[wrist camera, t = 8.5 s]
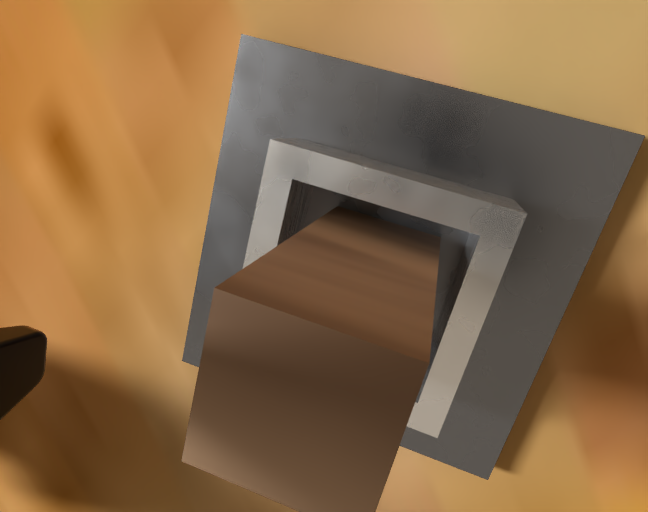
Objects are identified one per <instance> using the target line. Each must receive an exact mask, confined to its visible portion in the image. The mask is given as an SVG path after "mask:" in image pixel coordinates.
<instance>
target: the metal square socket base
mask: <svg viewBox="0 0 648 512" xmlns="http://www.w3.org/2000/svg"><path fill="white" fill-rule="evenodd" d="M644 137H645V136H644V135H640V134H636V133H632V132H628V131H624V130H620V129H616V128H612V127H608V126H604V125H600V124H596V123H592V122H588V121H584V120H580V119H577V118H573V117H569V116H565V115H561V114H557V113H553V112H549V111H545V110H541V109H537V108H533V107H529V106H525V105H521V104H517V103H513V102H509V101H505V100H501V99H497V98H493V97H489V96H485V95H481V94H477V93H473V92H469V91H465V90H461V89H458V88H454V87H450V86H446V85H442V84H438V83H434V82H430V81H426V80H422V79H418V78H414V77H410V76H406V75H402V74H398V73H394V72H390V71H386V70H382V69H378V68H374V67H370V66H366V65H362V64H358V63H354V62H350V61H346V60H342V59H339V58H335V57H331V56H327V55H323V54H319V53H315V52H311V51H307V50H303V49H299V48H295V47H291V46H287V45H283V44H279V43H275V42H271V41H267V40H263V39H259V38H255V37H251V36H247V35H243V34H241V39H240V44H239V50H238V55H237V61H236V66H235V72H234V78H233V83H232V89H231V94H230V100H229V105H228V111H227V116H226V122H225V127H224V133H223V138H222V144H221V149H220V155H219V160H218V166H217V171H216V177H215V182H214V188H213V193H212V199H211V204H210V210H209V215H208V221H207V226H206V232H205V238H204V243H203V249H202V254H201V260H200V265H199V271H198V276H197V282H196V287H195V293H194V298H193V304H192V309H191V315H190V320H189V326H188V331H187V337H186V342H185V348H184V353H183V359H182V361H184V362H186V363H189V364H192V365H194V366H197V367H199V366H200V360H201V355H202V350H203V344H204V339H205V334H206V329H207V323H208V318H209V313H210V308H211V302H212V297H213V292H214V288H215V287H216V286H218V285H219V284H221V283H222V282H224V281H225V280H227V279H228V278H230V277H231V276H233V275H234V274H236V273H237V272H239V271H240V270H242V269H243V268H245V267H246V266H248V265H249V264H251V263H252V262H254V261H255V260H257V259H258V258H260V257H261V256H263V255H264V254H266V253H267V252H269V251H270V250H272V249H274V248H275V247H277V246H278V245H280V244H281V243H283V242H284V241H286V240H287V239H289V238H290V237H292V236H293V235H295V234H296V233H298V232H299V231H301V230H302V229H304V228H305V227H307V226H308V225H310V224H311V223H313V222H314V221H316V220H317V219H319V218H320V217H322V216H323V215H325V214H326V213H328V212H329V211H331V210H332V209H334V208H335V207H337V206H339V207H342V208H346V209H349V210H352V211H355V212H359V213H362V214H365V215H369V216H372V217H375V218H379V219H382V220H385V221H388V222H392V223H395V224H398V225H402V226H405V227H408V228H411V229H415V230H418V231H421V232H425V233H428V234H431V235H435V236H438V237H441V242H440V253H439V264H438V275H437V286H436V297H435V308H434V319H433V330H432V341H431V352H430V363H429V366H428V369H427V371H426V374H425V377H424V380H423V382H422V385H421V388H420V391H419V393H418V396H417V399H416V401H415V404H414V407H413V410H412V412H411V415H410V418H409V421H408V423H407V426H406V429H405V432H404V434H403V437H402V440H401V443H400V445H399V446H402V447H404V448H407V449H410V450H412V451H415V452H417V453H420V454H422V455H425V456H428V457H430V458H433V459H435V460H438V461H440V462H443V463H446V464H448V465H451V466H453V467H456V468H458V469H461V470H463V471H466V472H469V473H471V474H474V475H476V476H479V477H481V478H484V479H487V480H488V479H489V477H490V474H491V472H492V470H493V468H494V466H495V463H496V461H497V459H498V457H499V455H500V452H501V450H502V448H503V446H504V444H505V442H506V439H507V437H508V435H509V433H510V431H511V428H512V426H513V424H514V422H515V420H516V417H517V415H518V413H519V411H520V409H521V407H522V404H523V402H524V400H525V398H526V396H527V393H528V391H529V389H530V387H531V385H532V382H533V380H534V378H535V376H536V374H537V371H538V369H539V367H540V365H541V363H542V361H543V358H544V356H545V354H546V352H547V350H548V347H549V345H550V343H551V341H552V339H553V336H554V334H555V332H556V330H557V328H558V326H559V323H560V321H561V319H562V317H563V315H564V312H565V310H566V308H567V306H568V304H569V301H570V299H571V297H572V295H573V293H574V290H575V288H576V286H577V284H578V282H579V280H580V277H581V275H582V273H583V271H584V269H585V266H586V264H587V262H588V260H589V258H590V255H591V253H592V251H593V249H594V247H595V245H596V242H597V240H598V238H599V236H600V234H601V231H602V229H603V227H604V225H605V223H606V220H607V218H608V216H609V214H610V212H611V209H612V207H613V205H614V203H615V201H616V199H617V196H618V194H619V192H620V190H621V188H622V185H623V183H624V181H625V179H626V177H627V174H628V172H629V170H630V168H631V166H632V164H633V161H634V159H635V157H636V155H637V153H638V150H639V148H640V146H641V144H642V142H643V139H644Z"/></svg>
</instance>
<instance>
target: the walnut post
mask: <svg viewBox="0 0 648 512" xmlns="http://www.w3.org/2000/svg"><path fill="white" fill-rule="evenodd" d="M440 242H441V237H438V236H435V235H431V234H428V233H425V232H421V231H418V230H415V229H411V228H408V227H405V226H402V225H398V224H395V223H392V222H388V221H385V220H382V219H379V218H375V217H372V216H369V215H365V214H362V213H359V212H355V211H352V210H349V209H346V208H342V207H339V206H337V207H335V208H334V209H332V210H331V211H329V212H328V213H326V214H325V215H323V216H322V217H320V218H319V219H317V220H316V221H314V222H313V223H311V224H310V225H308V226H307V227H305V228H304V229H302V230H301V231H299V232H298V233H296V234H295V235H293V236H292V237H290V238H289V239H287V240H286V241H284V242H283V243H281V244H280V245H278V246H277V247H275V248H274V249H272V250H270V251H269V252H267V253H266V254H264V255H263V256H261V257H260V258H258V259H257V260H255V261H254V262H252V263H251V264H249V265H248V266H246V267H245V268H243V269H242V270H240V271H239V272H237V273H236V274H234V275H233V276H231V277H230V278H228V279H227V280H225V281H224V282H222V283H221V284H219V285H218V286H216V287H215V288H214V292H213V297H212V302H211V308H210V313H209V318H208V323H207V329H206V334H205V339H204V344H203V350H202V355H201V360H200V366H199V371H198V376H197V381H196V387H195V392H194V397H193V402H192V408H191V413H190V418H189V423H188V429H187V434H186V439H185V444H184V450H183V455H182V460H181V461H182V462H184V463H186V464H189V465H191V466H193V467H196V468H198V469H200V470H203V471H205V472H207V473H210V474H212V475H214V476H217V477H219V478H221V479H224V480H226V481H229V482H231V483H233V484H236V485H238V486H240V487H243V488H245V489H247V490H250V491H252V492H254V493H257V494H259V495H261V496H264V497H266V498H268V499H271V500H273V501H275V502H278V503H280V504H282V505H285V506H287V507H290V508H292V509H294V510H297V511H299V512H375V511H376V508H377V506H378V503H379V500H380V497H381V495H382V492H383V489H384V486H385V484H386V481H387V478H388V475H389V473H390V470H391V467H392V464H393V462H394V459H395V456H396V453H397V451H398V448H399V445H400V443H401V440H402V437H403V434H404V432H405V429H406V426H407V423H408V421H409V418H410V415H411V412H412V410H413V407H414V404H415V401H416V399H417V396H418V393H419V391H420V388H421V385H422V382H423V380H424V377H425V374H426V371H427V369H428V366H429V363H430V352H431V341H432V330H433V319H434V308H435V297H436V286H437V275H438V264H439V253H440Z"/></svg>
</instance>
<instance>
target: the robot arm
mask: <svg viewBox="0 0 648 512" xmlns="http://www.w3.org/2000/svg"><path fill="white" fill-rule="evenodd" d="M46 348H47V338H46V335H45V334H44V333H43V332H41V331H39V330H36V329H34V328H31V327H28V326H13V327H5V328H0V420H1V419H2V418H3V417H4V416H5V415H6V414H7V413H8V412H9V411H10V410H11V409H12V408H13V407H14V406H15V405H16V404H17V403H18V402H20V401H21V400H22V399H23V398H24V397H25V396H26V395H27V394H28V393H29V392H30V391H31V390H32V389H33V388H34V387H35V386H36V385H37V384H38V383H39V382H40V380H41V379H42V377H43V375H44V371H45V361H46Z"/></svg>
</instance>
